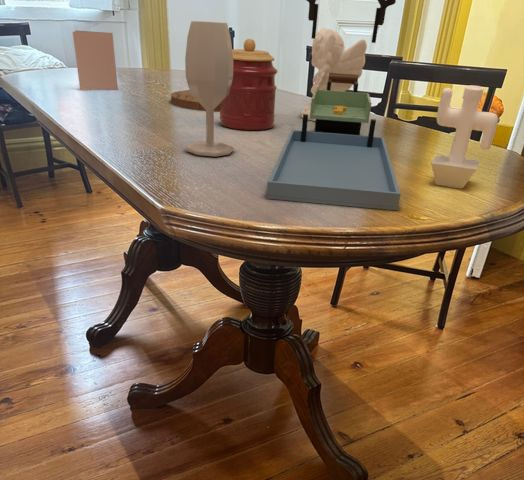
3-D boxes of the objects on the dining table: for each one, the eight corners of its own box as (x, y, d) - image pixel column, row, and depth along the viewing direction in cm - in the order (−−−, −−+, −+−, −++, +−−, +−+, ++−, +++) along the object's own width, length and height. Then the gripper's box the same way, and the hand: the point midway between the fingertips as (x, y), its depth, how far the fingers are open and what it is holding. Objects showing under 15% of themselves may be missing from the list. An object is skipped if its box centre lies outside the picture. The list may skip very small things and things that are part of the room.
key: (333, 108, 113) (333, 105, 112) (346, 109, 112) (346, 106, 112) (332, 113, 107) (333, 110, 106) (346, 114, 107) (346, 111, 106)
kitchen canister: (230, 131, 115) (231, 39, 105) (212, 120, 124) (212, 35, 115) (282, 130, 119) (289, 42, 109) (262, 119, 129) (265, 37, 119)
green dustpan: (315, 101, 125) (318, 71, 122) (364, 105, 124) (369, 75, 121) (309, 118, 105) (313, 83, 102) (368, 123, 104) (373, 87, 101)
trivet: (228, 115, 132) (228, 107, 131) (152, 102, 142) (152, 95, 141) (274, 104, 150) (275, 97, 149) (205, 94, 160) (204, 87, 159)
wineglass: (216, 160, 93) (216, 23, 82) (177, 152, 97) (172, 20, 85) (241, 151, 100) (244, 24, 88) (204, 144, 103) (202, 20, 91)
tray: (290, 142, 109) (291, 129, 107) (381, 149, 107) (383, 137, 106) (266, 198, 76) (267, 181, 75) (397, 210, 74) (400, 193, 73)
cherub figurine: (328, 112, 143) (337, 28, 131) (359, 121, 134) (372, 31, 123) (290, 115, 136) (297, 26, 125) (320, 124, 128) (330, 29, 117)
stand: (304, 131, 119) (307, 104, 116) (368, 136, 118) (373, 109, 115) (300, 144, 108) (303, 114, 105) (371, 150, 106) (376, 120, 103)
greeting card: (118, 89, 160) (113, 32, 151) (110, 92, 154) (104, 33, 145) (83, 86, 160) (75, 30, 152) (73, 89, 154) (65, 31, 146)
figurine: (477, 193, 84) (506, 92, 75) (419, 184, 87) (441, 85, 78) (480, 182, 89) (507, 87, 81) (425, 174, 92) (446, 81, 84)
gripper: (417, -76, 106) (397, 43, 118) (298, -82, 108) (290, 35, 120) (422, -81, 100) (400, 45, 112) (295, -87, 102) (287, 37, 114)
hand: (343, 40), depth 116 cm, fingers open, 13 cm apart
